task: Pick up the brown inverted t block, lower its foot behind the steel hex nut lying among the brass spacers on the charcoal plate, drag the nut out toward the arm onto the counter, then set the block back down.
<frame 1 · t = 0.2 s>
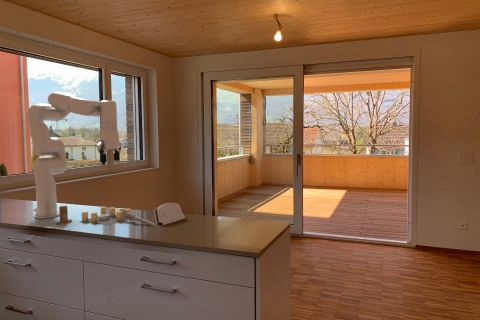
hand: (110, 161, 175), 31 cm above the counter, tool pointing down, fingers open, 9 cm apart
beige piece: (169, 221, 183), on the counter
nut: (103, 219, 184), point 1 cm above the counter, touching spacer jig
caliper: (138, 224, 176), on the counter, touching spacer jig
brown inverted t block: (64, 224, 177), on the counter
spacer jig: (107, 220, 183), on the counter
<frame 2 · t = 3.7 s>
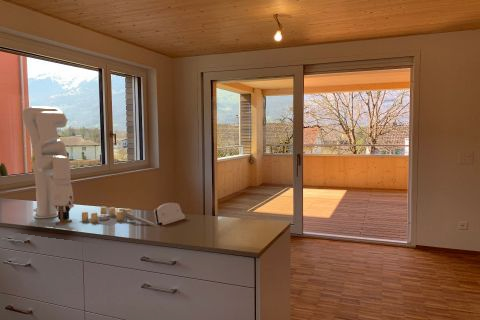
hand: (63, 218, 177), 3 cm above the counter, tool pointing down, fingers closed on brown inverted t block, 2 cm apart
brown inverted t block: (64, 224, 177), on the counter, touching gripper
everything else where it was.
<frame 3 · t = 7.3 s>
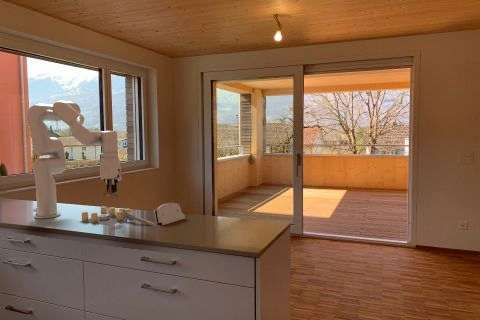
hand: (111, 191, 181), 15 cm above the counter, tool pointing down, fingers closed on brown inverted t block
brown inverted t block: (110, 197, 180), point 13 cm above the counter, tilted 17°, touching gripper
everything else where it was.
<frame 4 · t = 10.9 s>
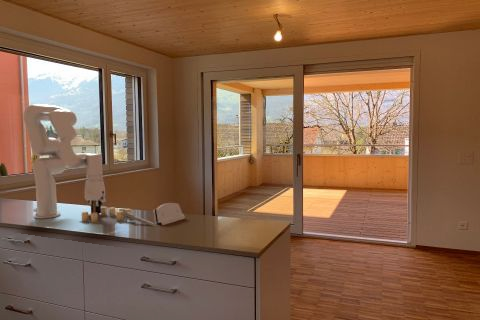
hand: (96, 212, 186), 3 cm above the counter, tool pointing down, fingers closed on brown inverted t block, 2 cm apart
nut: (90, 217, 187), on the counter, tilted 10°
brown inverted t block: (95, 217, 185), point 1 cm above the counter, tilted 7°, touching gripper
everything else where it was.
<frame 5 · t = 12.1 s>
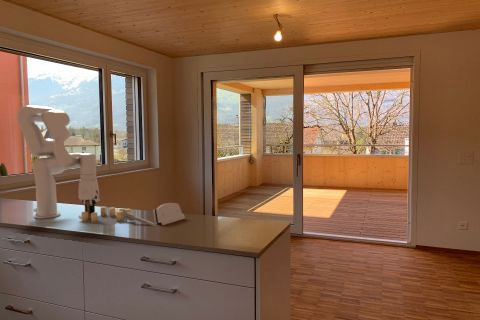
hand: (90, 212, 187), 4 cm above the counter, tool pointing down, fingers closed on brown inverted t block, 2 cm apart
nut: (84, 218, 189), on the counter
brown inverted t block: (90, 217, 187), point 1 cm above the counter, touching gripper
everything else where it was.
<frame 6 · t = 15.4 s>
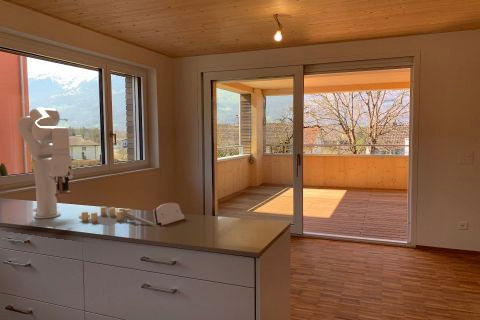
hand: (62, 189, 176), 17 cm above the counter, tool pointing down, fingers closed on brown inverted t block, 2 cm apart
brown inverted t block: (63, 195, 176), point 14 cm above the counter, touching gripper
everything else where it was.
when the fingers open (4 cm above the counter, at t = 18.0 s): brown inverted t block drops 1 cm, on the counter.
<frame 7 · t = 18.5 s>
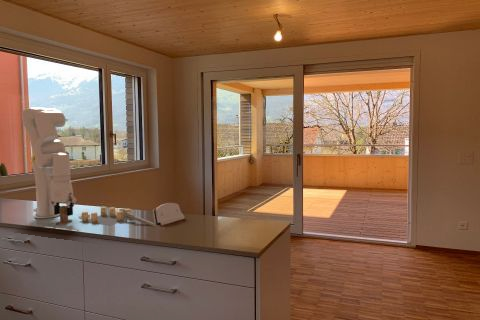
hand: (63, 214, 176), 5 cm above the counter, tool pointing down, fingers open, 7 cm apart
brown inverted t block: (64, 224, 177), on the counter
everything else where it was.
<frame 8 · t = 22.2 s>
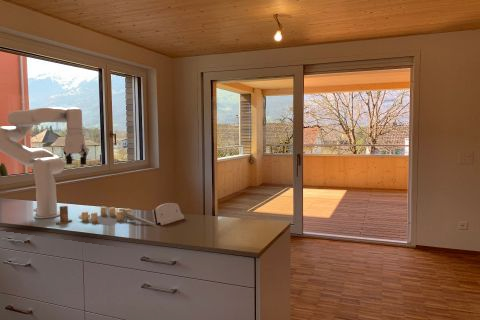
hand: (76, 164, 189), 28 cm above the counter, tool pointing down, fingers open, 9 cm apart
nothing on the counter moved.
at the end: nut inside the target area (1.8 cm from its centre), on the counter; nut tilted 0° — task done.
